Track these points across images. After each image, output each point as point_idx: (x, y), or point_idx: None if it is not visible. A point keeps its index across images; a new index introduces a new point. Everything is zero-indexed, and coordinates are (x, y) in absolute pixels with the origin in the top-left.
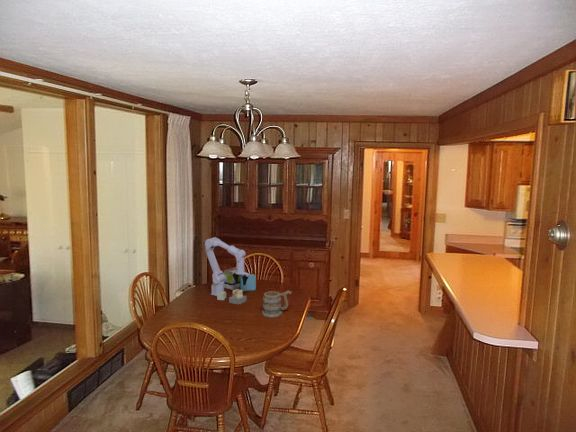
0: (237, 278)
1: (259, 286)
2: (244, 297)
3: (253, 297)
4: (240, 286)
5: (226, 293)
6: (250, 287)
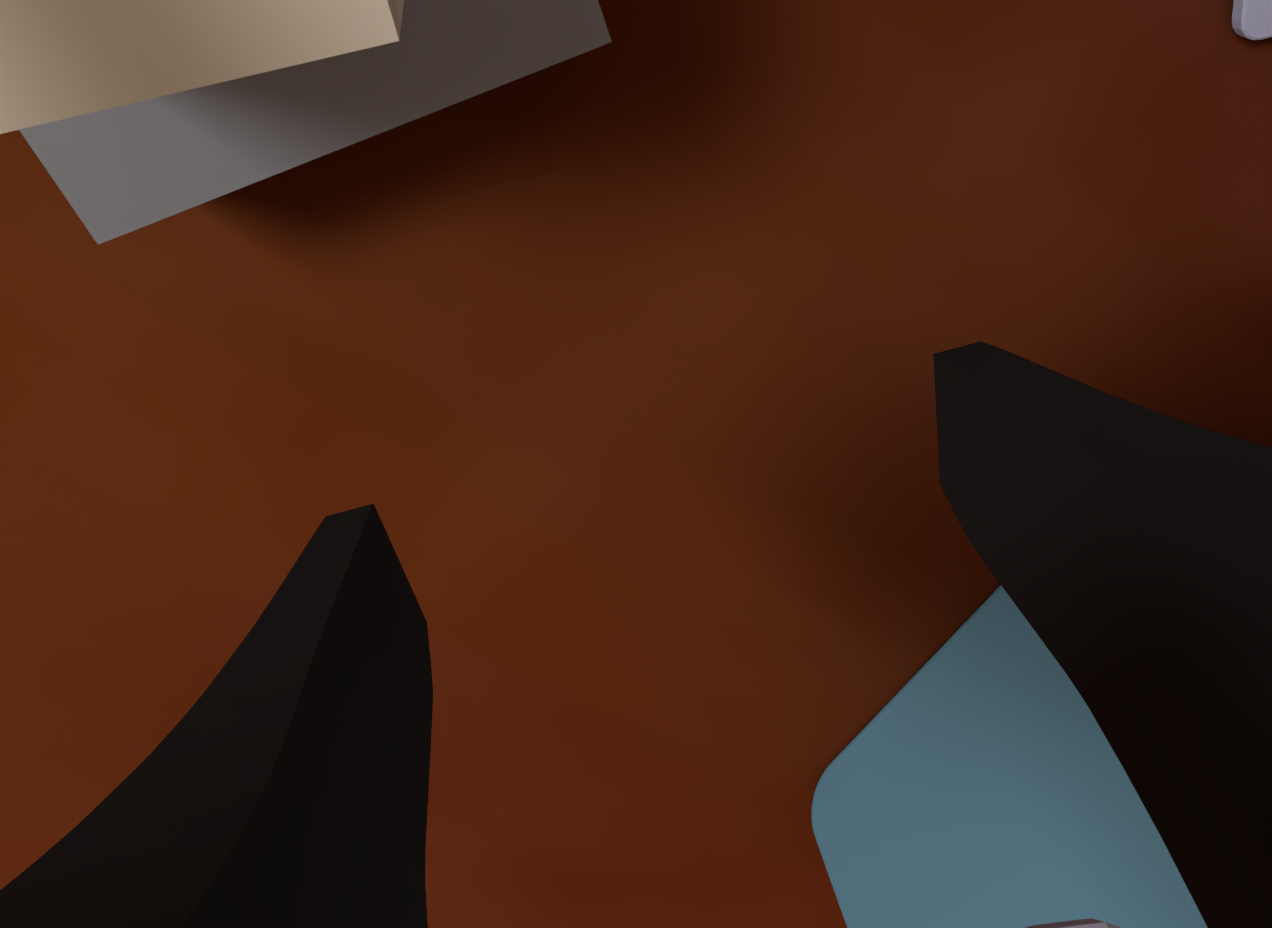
0: (1098, 655)
1: None
2: None
3: None
4: None
5: (1255, 34)
6: (910, 770)
